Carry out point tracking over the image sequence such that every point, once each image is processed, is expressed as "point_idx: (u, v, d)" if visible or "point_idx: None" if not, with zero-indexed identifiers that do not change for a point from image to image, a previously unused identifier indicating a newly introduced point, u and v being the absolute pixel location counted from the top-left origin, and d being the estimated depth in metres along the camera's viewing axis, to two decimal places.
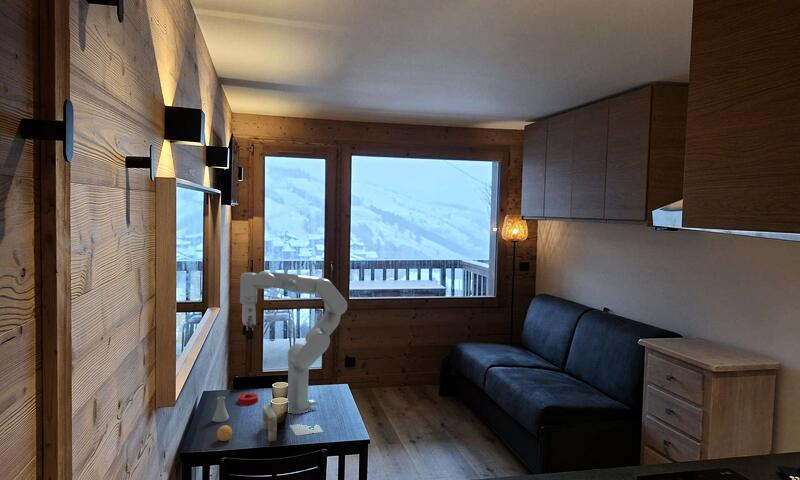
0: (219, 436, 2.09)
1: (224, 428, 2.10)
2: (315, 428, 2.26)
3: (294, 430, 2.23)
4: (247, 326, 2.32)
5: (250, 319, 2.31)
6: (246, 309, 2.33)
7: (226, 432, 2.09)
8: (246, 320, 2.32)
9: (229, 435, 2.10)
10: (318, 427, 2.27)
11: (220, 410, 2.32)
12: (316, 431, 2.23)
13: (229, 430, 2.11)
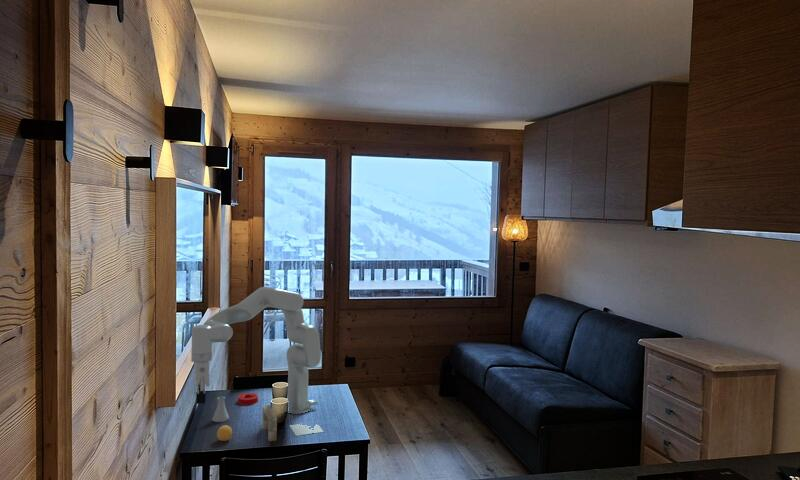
0: (219, 436, 2.09)
1: (224, 428, 2.10)
2: (315, 428, 2.26)
3: (294, 430, 2.23)
4: (198, 390, 2.04)
5: (201, 385, 2.01)
6: (198, 369, 2.01)
7: (226, 432, 2.09)
8: None
9: (229, 435, 2.10)
10: (318, 427, 2.27)
11: (220, 410, 2.32)
12: (316, 431, 2.23)
13: (229, 430, 2.11)
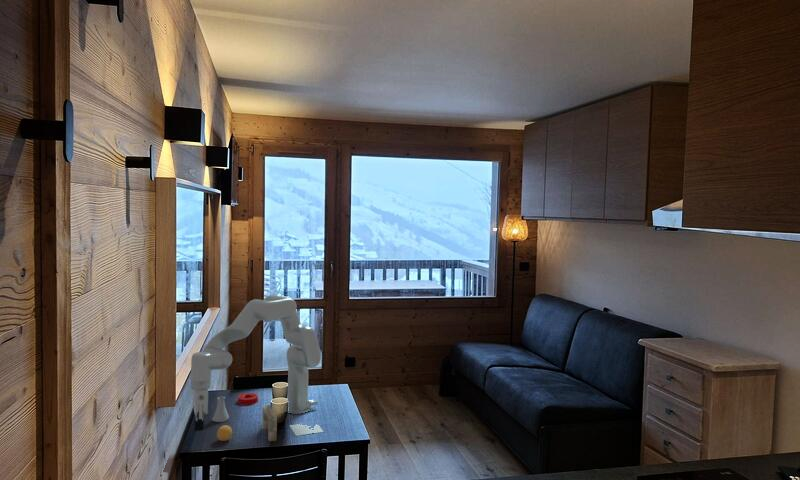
0: (219, 436, 2.09)
1: (224, 428, 2.10)
2: (315, 428, 2.26)
3: (294, 430, 2.23)
4: (196, 417, 2.04)
5: (200, 413, 2.02)
6: (196, 397, 2.01)
7: (226, 432, 2.09)
8: None
9: (229, 435, 2.10)
10: (318, 427, 2.27)
11: (220, 410, 2.32)
12: (316, 431, 2.23)
13: (229, 430, 2.11)
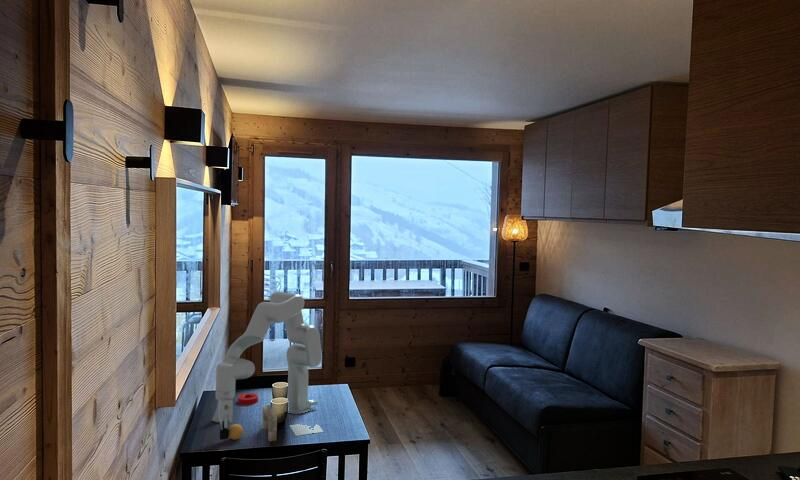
0: (233, 429, 2.11)
1: (241, 429, 2.13)
2: (315, 428, 2.26)
3: (294, 430, 2.23)
4: (222, 426, 2.08)
5: (225, 422, 2.06)
6: (222, 406, 2.05)
7: (239, 433, 2.12)
8: (221, 423, 2.06)
9: (237, 437, 2.11)
10: (318, 427, 2.27)
11: None
12: (316, 431, 2.23)
13: (241, 434, 2.13)
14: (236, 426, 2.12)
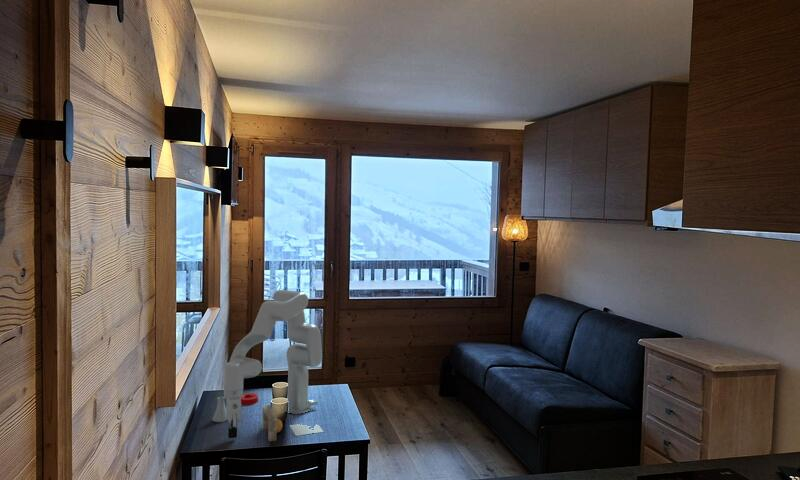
0: None
1: (277, 421, 2.19)
2: (315, 428, 2.26)
3: (294, 430, 2.23)
4: (230, 425, 2.10)
5: (234, 421, 2.07)
6: (230, 405, 2.07)
7: (278, 425, 2.19)
8: None
9: (280, 429, 2.19)
10: (318, 427, 2.27)
11: (220, 410, 2.32)
12: (316, 431, 2.23)
13: (281, 424, 2.20)
14: None
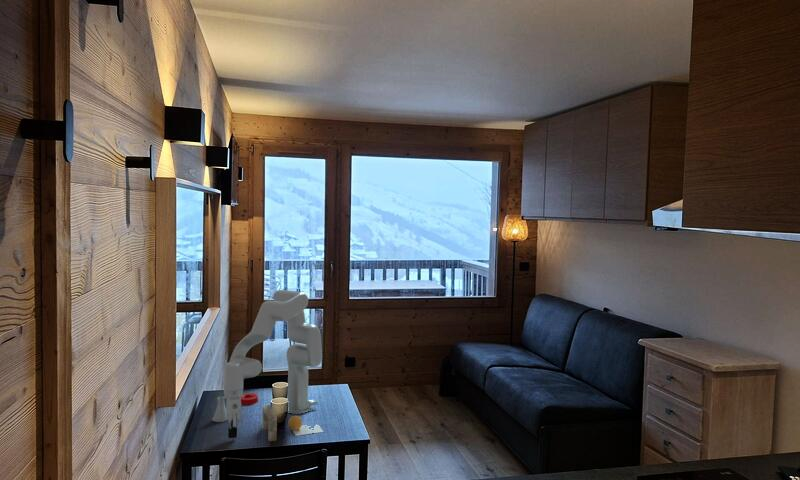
0: (301, 423, 2.24)
1: (296, 429, 2.23)
2: (315, 428, 2.26)
3: (294, 430, 2.23)
4: (230, 425, 2.10)
5: (234, 421, 2.07)
6: (230, 405, 2.07)
7: (295, 427, 2.22)
8: None
9: (293, 424, 2.22)
10: (318, 427, 2.27)
11: (220, 410, 2.32)
12: (316, 431, 2.23)
13: (292, 428, 2.22)
14: None
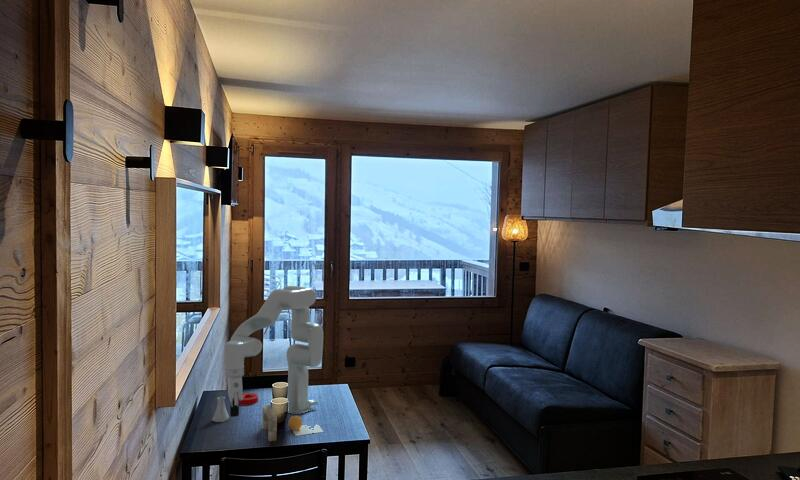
0: (301, 423, 2.24)
1: (296, 429, 2.23)
2: (315, 428, 2.26)
3: (294, 430, 2.23)
4: (232, 404, 2.10)
5: (235, 399, 2.08)
6: (231, 384, 2.07)
7: (295, 427, 2.22)
8: (231, 401, 2.08)
9: (293, 424, 2.22)
10: (318, 427, 2.27)
11: (220, 410, 2.32)
12: (316, 431, 2.23)
13: (292, 428, 2.22)
14: None
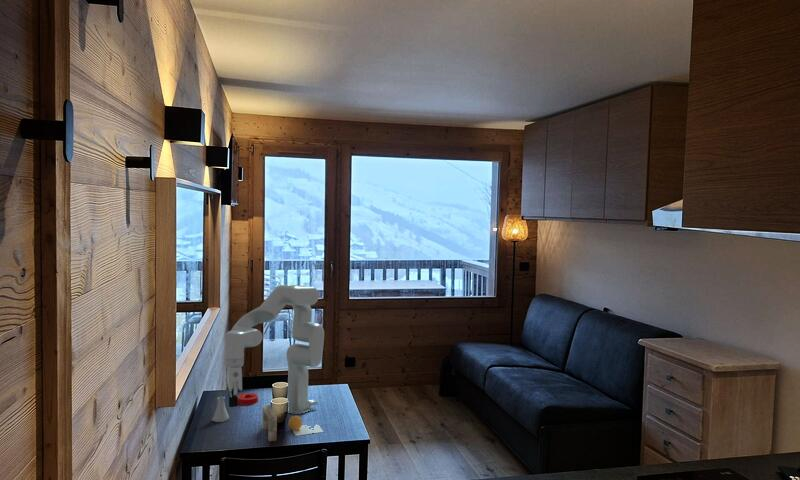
0: (301, 423, 2.24)
1: (296, 429, 2.23)
2: (315, 428, 2.26)
3: (294, 430, 2.23)
4: (231, 394, 2.09)
5: (235, 389, 2.07)
6: (231, 373, 2.07)
7: (295, 427, 2.22)
8: (230, 390, 2.07)
9: (293, 424, 2.22)
10: (318, 427, 2.27)
11: (220, 410, 2.32)
12: (316, 431, 2.23)
13: (292, 428, 2.22)
14: None
